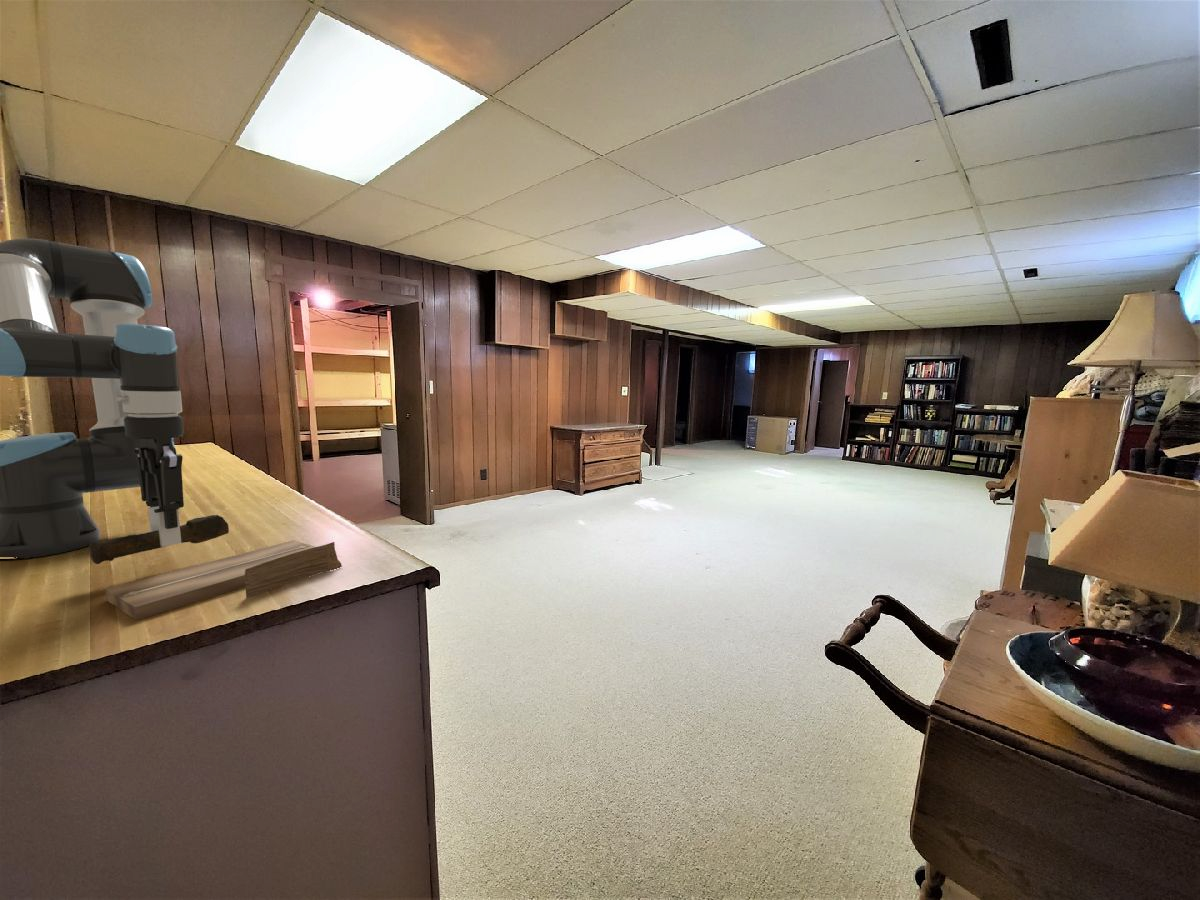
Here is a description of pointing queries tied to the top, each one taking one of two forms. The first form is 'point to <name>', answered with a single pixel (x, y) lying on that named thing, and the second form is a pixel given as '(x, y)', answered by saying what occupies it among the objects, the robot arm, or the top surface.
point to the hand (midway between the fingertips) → (166, 542)
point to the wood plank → (290, 568)
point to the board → (193, 582)
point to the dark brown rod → (158, 539)
